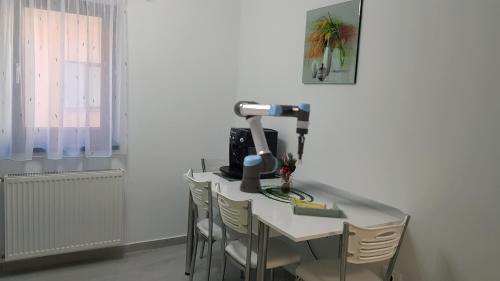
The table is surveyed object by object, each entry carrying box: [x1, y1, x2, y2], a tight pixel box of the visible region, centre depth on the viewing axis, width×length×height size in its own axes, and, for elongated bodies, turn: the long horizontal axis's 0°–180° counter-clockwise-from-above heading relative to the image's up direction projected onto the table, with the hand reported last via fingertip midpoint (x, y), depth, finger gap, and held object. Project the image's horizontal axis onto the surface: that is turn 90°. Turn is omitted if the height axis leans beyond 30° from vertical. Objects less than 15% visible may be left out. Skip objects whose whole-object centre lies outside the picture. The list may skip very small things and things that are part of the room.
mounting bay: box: [290, 198, 342, 218], centre depth 215 cm, size 17×26×5 cm, turn 89°
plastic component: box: [292, 195, 327, 209], centre depth 218 cm, size 20×7×10 cm
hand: (299, 164), depth 239 cm, fingers closed
